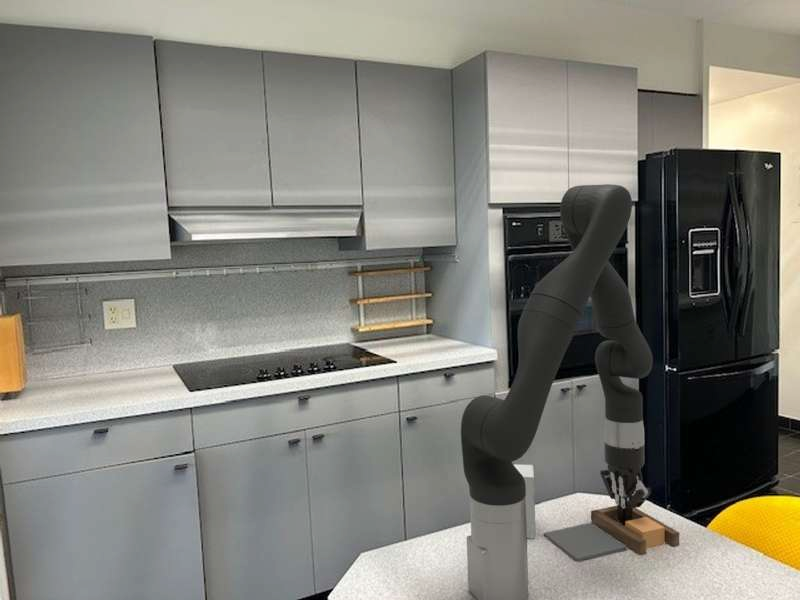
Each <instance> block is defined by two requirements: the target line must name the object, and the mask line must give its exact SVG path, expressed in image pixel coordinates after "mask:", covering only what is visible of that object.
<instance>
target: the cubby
mask: <svg viewBox="0 0 800 600" xmlns="http://www.w3.org/2000/svg"><path fill="white" fill-rule="evenodd" d="M617 514H618V513H617V505H614V506H607V507H603V508H598V509H594V510H591V511H590V523H591V522H592V523H593V525H595V526H596V527H598V528H599V529H602V531H604V532H605V533H607V534H608V535H610V536H611V537H613V538H614V539H616V540H617V541H619V542H620V543H622V544H623V545H625V546H626V547H627V549H630V550H632V551H633V552H634V553H636V554H638V555H639V556H641V555H645V554H647V549H646V540H645V539H643V538H641V537H640V536H638V535H637V534H635V533H633V532H632V531H630V530H629V529H627V528H625V526H623V525H622V524H620V523H619V522H618V521H617V520H618V516H617ZM643 517H647V518H649V519H651V520H653V521H654V522H656V523H658V524H659V525H661V526H663V527H665V543H666V544H668V545H670V546H671V547H672V548H673V547H677V546H680V532H679V531H677V530H675V529H673V527H670V526H669V525H666V524H665V523H664V522H662V521H659V520H658V519H656V518H655V517H653V516H651V515H649V514H647V513H646V512H645V511H642V510H640V509H638V507H636V508H633V520H634V519H639V518H643Z"/></svg>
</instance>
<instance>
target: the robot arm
mask: <svg viewBox="0 0 800 600" xmlns="http://www.w3.org/2000/svg"><path fill="white" fill-rule="evenodd" d="M632 200H633V199H632V195H631V192H630V191H629V190H628V189H627V188H626V187H624V186H622V185H620V184H606V183H605V184H585V185H583V184H582V185H575V186H572V187H570V188H569V189H567V190H566V191H565V193H564V194H563V196H562V198H561V202H560V207H559V210H560V211H559V212H560V213H559V214H560V219H561V224H562V227H563V228H562V229H563V230H564V233H565V236H566V238H567V240H568V243H569V244H570V248H571V250H572V252H571V253H570V254H569V255H568V256H567V257H566V258H565V259H564V260H563V261H561V262H560V263H558V265H556V266H555V267H554V268H553V269H551V271H549V272H548V273H547V274H546V275H545V276H544V277H543V278H541V279H540V281H539V282H538V283H537V284H536V285H535V286H534V288H533V289H532V291H531V293H530V295H529V296H528V297H529V298H528V300H527V302H526V304H525V306H524V309H522V312H521V315H520V317H519V320H518V324H517V348H518V365H517V370H516V373H515V377H514V379H513V382H512V384H511V387H510V389H509V391H508V392H507V395H506V396H505V398H504V399H502V398H498V397H495V396H492V395H479V396H476V397H475V398H473V399H471V401H469V403H467V405H466V407H465V408H464V411H463V414H462V417H461V424H460V439H461V452H462V453H461V454H462V463H463V464H462V465H463V467H462V468H463V472H464V477H465V479H466V480H465V481H467V485H468V487H469V506H470V507H469V510H470V513H469V514H470V534H471V535H468V536H466V558H467V559H466V560H467V561H466V562H467V587H468V591H469V592H470V593H471V594H472V596H473V597H474V598H475V599H476V600H528V597H529V567H528V566H529V565H528V563H529V558H528V538H527V519H526V485H525V480H524V477H523V476H522V474H521V473H520V472H519V471H518V470H517V469H516V468H515V466H514V465H513V464H514V463H513V462H515V461H517V460H519V459H521V458H522V457H523V456H524V455H525V454H526V453H527V452H528V450H529V448H530V447H531V446H532V443H533V441H534V439H535V437H536V433H537V431H538V428H539V425H540V423H541V420H542V419H541V418H542V416H543V413H544V410H545V406H546V404H547V401H548V398H549V395H550V392H551V389H552V386H553V383H554V381H555V378H556V375H557V373H558V371H559V369H560V365H561V363H562V361H563V359H564V356H565V353H566V351H567V349H568V348H569V345H570V343H571V341H572V339H573V337H574V335H575V333H576V331H577V328H578V326H579V323H580V321H581V319H582V317H583V314H584V312H585V309H586V306H587V303H588V302H589V299H590V300H591V301H590V302H591V304H592V309H593V313H594V319H595V323H596V327H597V331H598V333H599V334H600V335H601V336H602V337H604V338H606V339H608V340H604V341H602V342H601V343H599V345H598V346H597V348H596V350H595V354H594V361H595V363H594V364H595V367H596V371H597V374H598V376H599V380H600V381H599V382H600V384H601V388H602V391H603V396H604V409H605V410H604V413H605V417H604V418H605V419H604V420H605V421H604V428H603V429H604V430H603V434H604V436H603V437H604V441H603V442H604V443H603V444H604V445H603V446H604V462H605V463H606V465H607V468H606V469H602V470H600V472H599V474H600V477H601V479H602V481H603V484H604V486H605V489H606V492H607V494H608V495H609V498H610V499H611V500H614V501H615V506H617V513H618V514H617V516H618V521H617V523H619V524H621V525H622V526H624V527H625V521H629V520H633V508H641V506H642V505H643V504H644V503H645V502H646V500H647V499H648V498H649V497H650V495H651V494H652V489H651V488H650V487H646V486H645V484H644V483H643V475H642V470H641V469H642V468H643V466H644V465H645V457H646V456H645V426H644V417H643V415H644V412H643V410H644V407H643V406H644V405H643V402H644V400H643V399H644V398H643V394H642V392H641V391H639V389H636V388H634V387H631V386H628V385H626V384H625V383H624V382H623V381H622V379H621V378H629V379H644V378H645V377H647V376H648V375H649V374H650V373H651V371H652V368H653V361H654V360H653V354H652V350H651V348H650V346H649V343H648V342H647V340H646V339H645V337H644V334H642V332H641V329H640V328H639V325H638V324H637V321H636V318H635V313H634V307H633V303H632V298H631V294H630V291H629V289H628V287H627V285H626V283H625V281H624V280H623V279H622V277H621V276H620V275H619V273H618V272H617V270H616V269H615V268H614V266H613V265H612V264H611V263H610V261H609V260H610V258H611V256H612V254H614V253H613V252H614V250H615V249H616V248H617V246H618V244H619V242H620V241H621V238H622V237H623V235H624V233H625V231H626V229H627V227H628V224H629V221H630V219H631V215H632V211H633V201H632Z"/></svg>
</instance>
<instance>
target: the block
mask: <svg viewBox="0 0 800 600" xmlns="http://www.w3.org/2000/svg"><path fill="white" fill-rule="evenodd" d="M624 527H625V528H627V529H629V530H630V531H632V532H633V533H635V534H637V535H638V536H640V537H641V538H643V539H645V540H646V550H647V549H650V548H655V547H658V546H662V545H665V543H666V542H665V527H663V526H661V525H659V524H658V523H656V522H654V521H653V520H651V519H649V518H647V517H643V518H639V519H634V520H629V521H625V526H624Z"/></svg>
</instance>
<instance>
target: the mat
mask: <svg viewBox="0 0 800 600" xmlns="http://www.w3.org/2000/svg"><path fill="white" fill-rule="evenodd" d="M543 537H545V538H546V537H547V538H548V539H547V538H546V539H547V540H549V541H550V542H551V543H552V542H553V543H552V544H553V545H555V546H556V547H558V549H560V550H561V551H562V552H564V554H566V553H567V554H568V555H567V556H569V557H570V558H571V559H572V558H573V560H574V561H575V562H576V561H579V562H581V561H580V560H583V561H585V560H584V559H587V560H590V559H589V558H591V559H595V558H598V557H603V556H608V555H612V554H615V553H618V552H624V551H627V549H628V547H627V546H625V545H624V544H622V543H621V542H619V541H618V540H616V539H615V538H613V537H612V536H610V535H609V534H607V533H606V532H604V531H603V530H601V529H600V528H598V527H597V526H595V525H594V524H592V523H591V522H588V523H587V522H586V523H583V524H578V525H573V526H571V527H570V526H569V527H564V528H561V529H557V530H551V531H547V532H544V533H543ZM594 557H595V558H594Z"/></svg>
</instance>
